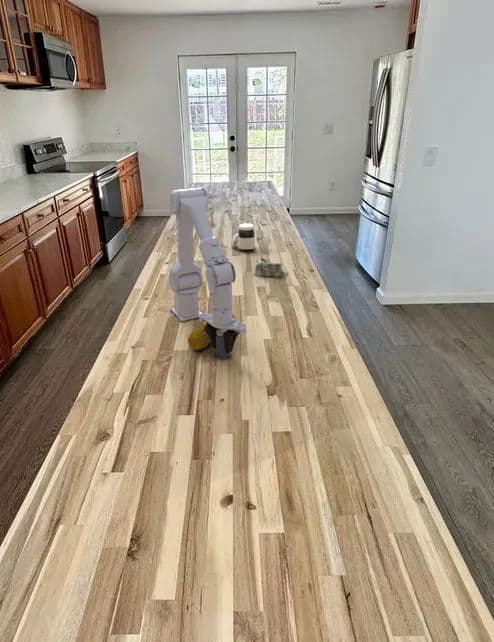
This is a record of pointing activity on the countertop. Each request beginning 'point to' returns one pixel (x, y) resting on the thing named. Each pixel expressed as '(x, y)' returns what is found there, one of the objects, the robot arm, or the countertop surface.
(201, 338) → the food
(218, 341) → the shaker
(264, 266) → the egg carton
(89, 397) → the countertop surface
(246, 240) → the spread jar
